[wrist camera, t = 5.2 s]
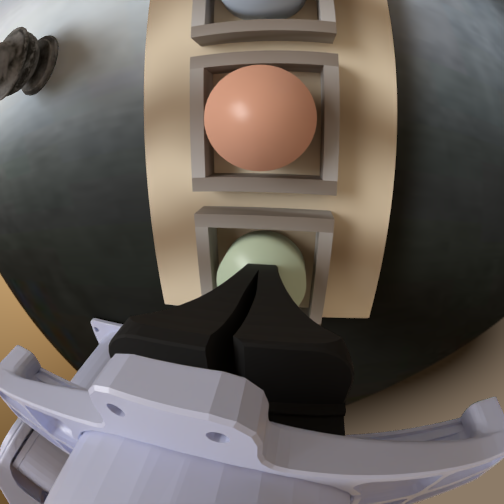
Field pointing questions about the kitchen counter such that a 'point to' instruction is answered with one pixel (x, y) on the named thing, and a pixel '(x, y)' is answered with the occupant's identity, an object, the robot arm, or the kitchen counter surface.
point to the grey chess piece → (26, 62)
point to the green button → (267, 259)
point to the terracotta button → (260, 118)
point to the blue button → (263, 8)
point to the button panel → (285, 178)
